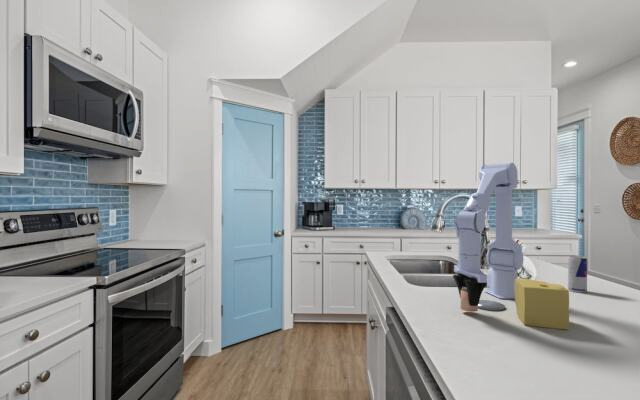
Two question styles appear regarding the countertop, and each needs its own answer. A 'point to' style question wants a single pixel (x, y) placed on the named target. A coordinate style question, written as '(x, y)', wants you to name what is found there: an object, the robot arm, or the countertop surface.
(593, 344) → the countertop surface
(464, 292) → the spice jar
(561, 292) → the cheese
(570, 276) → the energy drink
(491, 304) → the coaster
